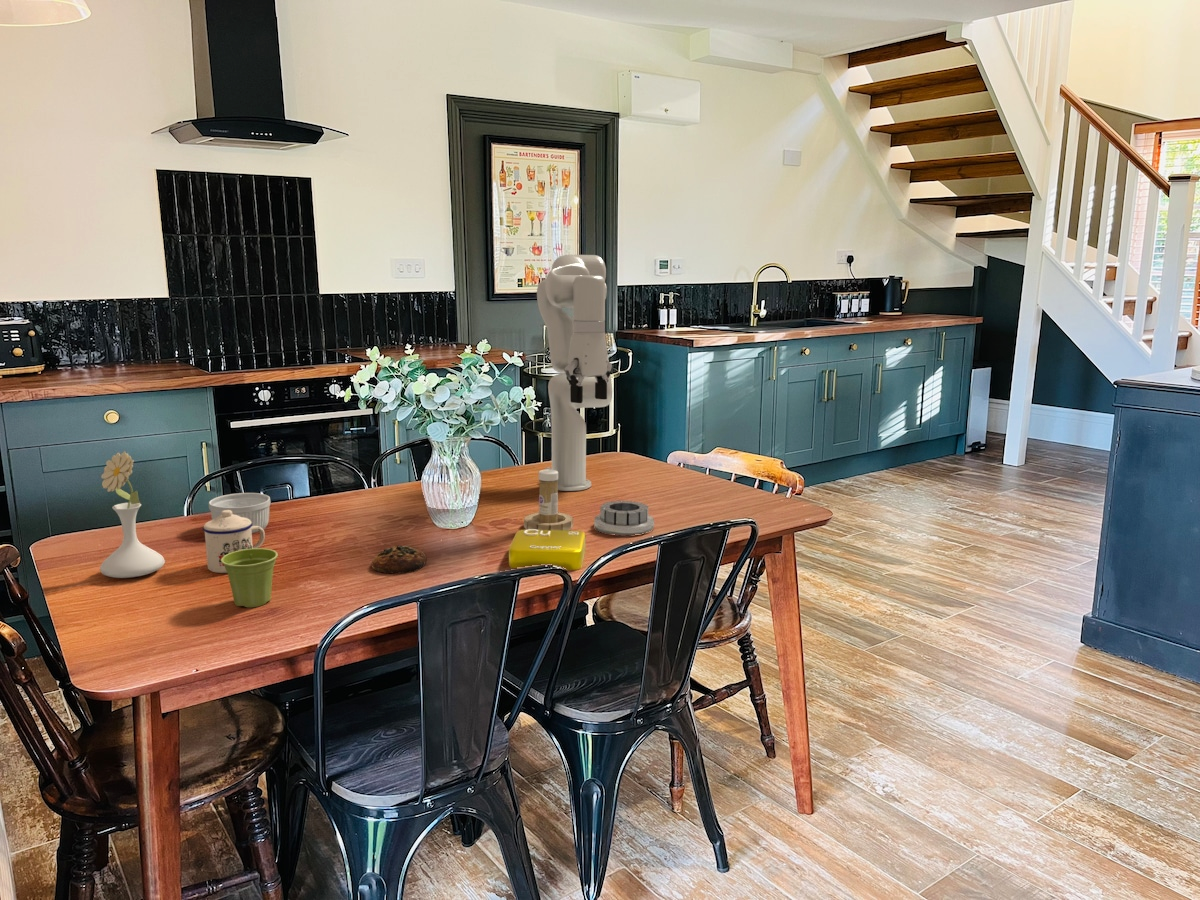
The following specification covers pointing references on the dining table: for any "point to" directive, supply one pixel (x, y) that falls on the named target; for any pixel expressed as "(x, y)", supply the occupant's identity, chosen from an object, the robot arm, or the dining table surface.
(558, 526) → the beige flat ring
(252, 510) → the ramekin
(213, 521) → the teacup with lid
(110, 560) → the flower in vase
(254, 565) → the plant pot
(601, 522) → the hub
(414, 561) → the bread roll
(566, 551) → the element tile
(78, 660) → the dining table surface
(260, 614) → the dining table surface
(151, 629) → the dining table surface
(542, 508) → the sprinkles bottle
